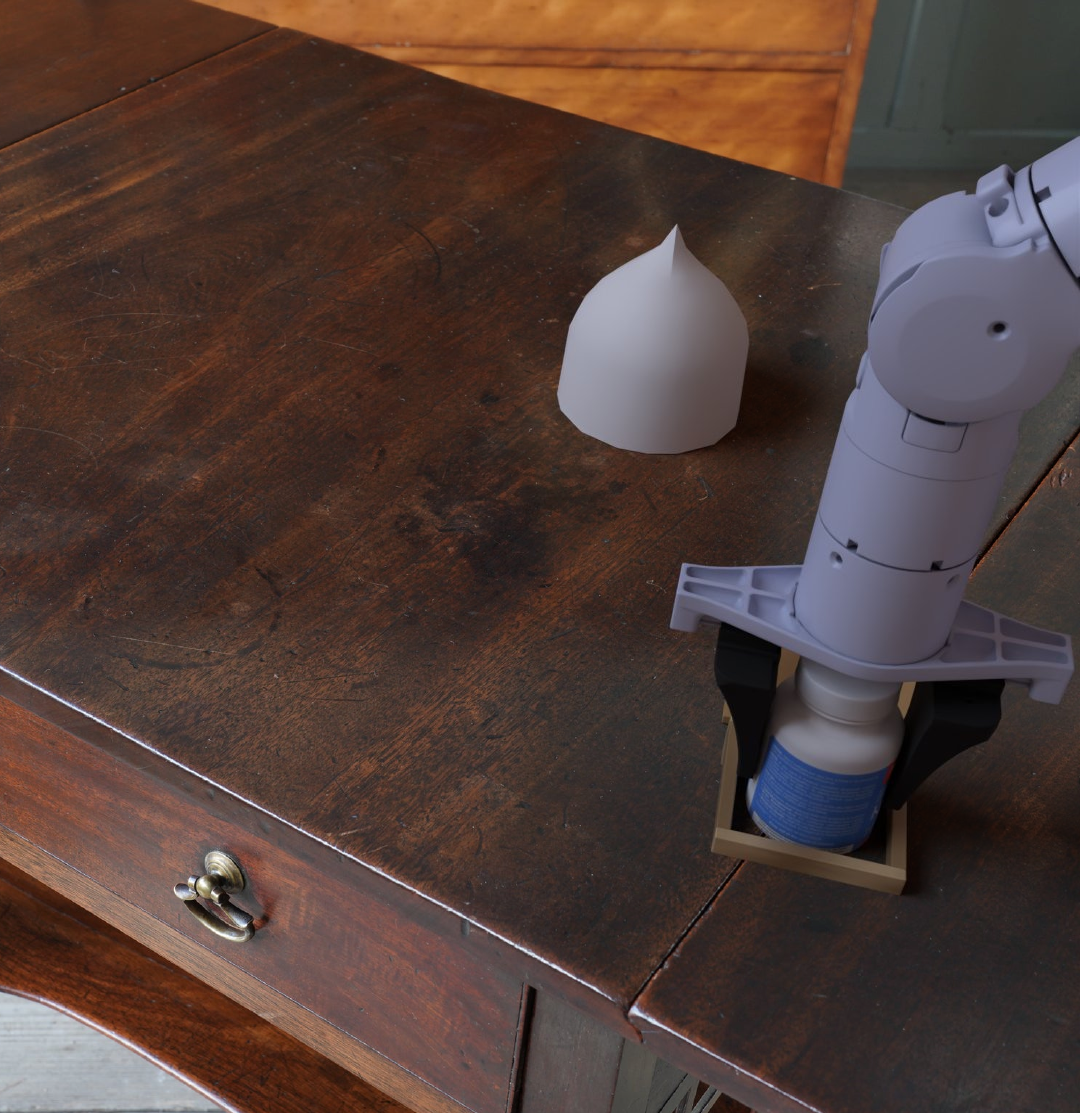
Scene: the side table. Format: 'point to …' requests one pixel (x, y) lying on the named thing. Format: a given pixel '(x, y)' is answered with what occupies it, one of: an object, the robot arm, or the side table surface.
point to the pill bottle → (825, 758)
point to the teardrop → (656, 355)
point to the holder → (802, 857)
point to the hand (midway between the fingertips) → (819, 776)
